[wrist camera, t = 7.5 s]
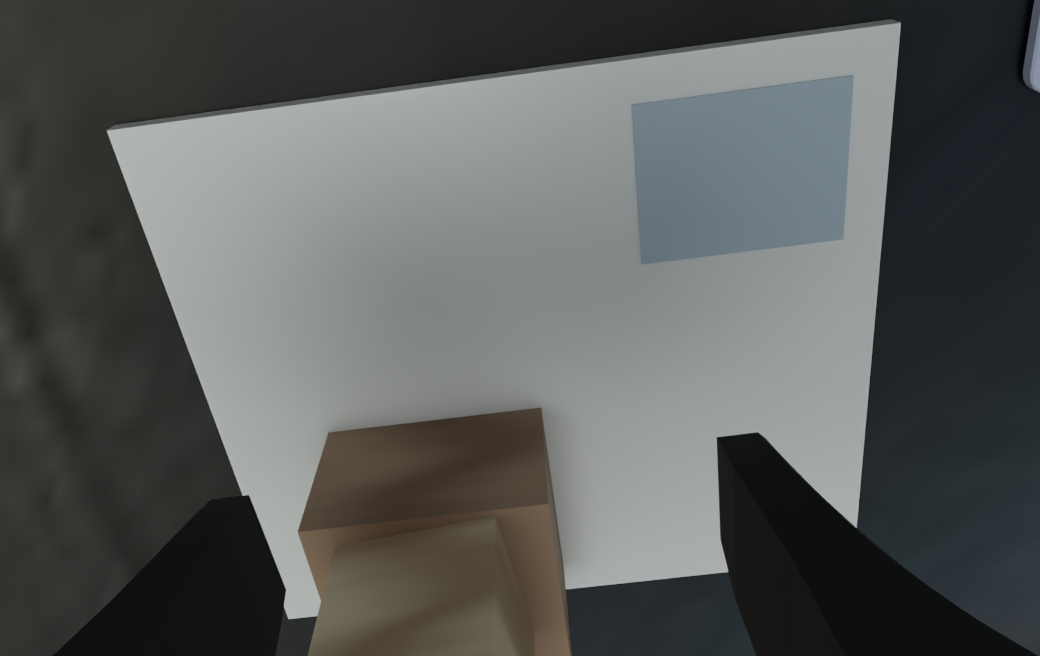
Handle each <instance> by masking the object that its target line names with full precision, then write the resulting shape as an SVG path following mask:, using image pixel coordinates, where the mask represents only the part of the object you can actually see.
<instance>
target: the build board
mask: <svg viewBox="0 0 1040 656" xmlns="http://www.w3.org/2000/svg"><path fill="white" fill-rule="evenodd" d="M900 28H901V23H900V22H898V21H895V20H893V19H889V20H882V21H875V22H867V23H860V24H852V25H845V26H838V27H830V28H823V29H816V30H808V31H801V32H794V33H786V34H779V35H772V36H764V37H757V38H750V39H742V40H735V41H728V42H720V43H713V44H705V45H698V46H691V47H683V48H676V49H669V50H661V51H654V52H647V53H639V54H632V55H625V56H617V57H610V58H603V59H595V60H588V61H581V62H573V63H566V64H559V65H551V66H544V67H536V68H529V69H522V70H514V71H507V72H500V73H492V74H485V75H478V76H470V77H463V78H456V79H448V80H441V81H434V82H426V83H419V84H412V85H404V86H397V87H389V88H382V89H375V90H367V91H360V92H353V93H345V94H338V95H331V96H323V97H316V98H309V99H301V100H294V101H287V102H279V103H272V104H265V105H257V106H250V107H242V108H235V109H228V110H220V111H213V112H206V113H198V114H191V115H184V116H176V117H169V118H162V119H154V120H147V121H140V122H132V123H125V124H118V125H114V126H113V127H111V128H110V129H108V130H107V133H108V135H109V138H110V141H111V143H112V146H113V149H114V152H115V154H116V157H117V160H118V162H119V165H120V168H121V170H122V173H123V176H124V178H125V181H126V184H127V186H128V189H129V192H130V194H131V197H132V200H133V203H134V205H135V208H136V211H137V213H138V216H139V219H140V221H141V224H142V227H143V229H144V232H145V235H146V237H147V240H148V243H149V246H150V248H151V251H152V254H153V256H154V259H155V262H156V264H157V267H158V270H159V272H160V275H161V278H162V280H163V283H164V286H165V288H166V291H167V294H168V297H169V299H170V302H171V305H172V307H173V310H174V313H175V315H176V318H177V321H178V323H179V326H180V329H181V331H182V334H183V337H184V339H185V342H186V345H187V348H188V350H189V353H190V356H191V358H192V361H193V364H194V366H195V369H196V372H197V374H198V377H199V380H200V382H201V385H202V388H203V390H204V393H205V396H206V399H207V401H208V404H209V407H210V409H211V412H212V415H213V417H214V420H215V423H216V425H217V428H218V431H219V433H220V436H221V439H222V441H223V444H224V447H225V450H226V452H227V455H228V458H229V460H230V463H231V466H232V468H233V471H234V474H235V476H236V479H237V482H238V484H239V487H240V490H241V492H242V495H243V496H245V495H249V496H250V499H251V501H252V504H253V506H254V509H255V512H256V514H257V517H258V519H259V522H260V524H261V527H262V529H263V532H264V535H265V537H266V540H267V542H268V545H269V547H270V550H271V553H272V555H273V558H274V560H275V563H276V565H277V568H278V570H279V573H280V576H281V578H282V581H283V583H284V586H285V588H286V594H285V601H284V608H285V611H286V613H287V616H288V619H295V618H304V617H313V616H318V612H319V608H320V604H321V599H320V596H319V594H318V591H317V588H316V585H315V582H314V579H313V576H312V573H311V570H310V567H309V564H308V561H307V558H306V555H305V552H304V549H303V547H302V544H301V541H300V538H299V535H298V529H299V526H300V523H301V519H302V516H303V513H304V510H305V506H306V503H307V500H308V497H309V493H310V490H311V487H312V484H313V481H314V477H315V474H316V471H317V468H318V464H319V461H320V458H321V455H322V451H323V448H324V445H325V442H326V438H327V435H328V432H337V431H345V430H354V429H362V428H371V427H379V426H388V425H397V424H405V423H414V422H422V421H431V420H439V419H448V418H456V417H465V416H473V415H482V414H490V413H499V412H508V411H516V410H525V409H533V408H542V415H543V422H544V430H545V437H546V444H547V451H548V458H549V465H550V473H551V480H552V487H553V494H554V501H555V508H556V515H557V523H558V530H559V537H560V544H561V551H562V558H563V565H564V576H565V588H566V589H574V588H583V587H593V586H602V585H611V584H621V583H630V582H639V581H648V580H658V579H667V578H676V577H686V576H695V575H704V574H714V573H723V572H728V568H727V564H726V560H725V556H724V552H723V548H722V543H721V539H720V512H719V486H718V459H717V437H723V436H731V435H740V434H748V433H756V432H758V433H759V434H761V435H762V436H763V437H765V438H766V439H767V440H768V442H769V443H770V444H771V445H772V446H773V447H774V448H775V449H776V450H777V451H778V452H779V453H780V454H781V456H782V457H783V458H784V459H785V460H786V461H787V462H788V463H789V464H790V465H791V466H792V467H793V468H794V469H795V470H796V471H797V472H798V473H799V474H800V475H801V476H802V477H803V478H804V479H805V480H806V481H807V482H808V483H809V484H810V485H811V486H812V487H813V488H814V489H815V490H816V491H817V492H818V493H819V494H820V495H821V496H822V497H823V498H824V499H825V500H826V501H827V502H828V503H830V504H831V505H832V506H833V507H834V508H835V509H836V510H837V511H838V512H839V513H840V514H842V515H843V516H844V517H845V518H846V519H847V520H848V521H849V522H850V523H851V524H853V525H854V526H855V527H856V528H857V518H858V507H859V496H860V484H861V473H862V461H863V450H864V439H865V427H866V416H867V404H868V393H869V382H870V370H871V359H872V347H873V336H874V325H875V313H876V302H877V290H878V279H879V268H880V256H881V245H882V233H883V222H884V211H885V199H886V188H887V176H888V165H889V154H890V142H891V131H892V119H893V108H894V97H895V85H896V74H897V62H898V51H899V40H900Z"/></svg>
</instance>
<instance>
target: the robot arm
mask: <svg viewBox="0 0 1040 656" xmlns="http://www.w3.org/2000/svg"><path fill="white" fill-rule="evenodd" d="M1023 80H1024V82H1025V84H1026V85H1027V86H1028V87H1029V88H1031V89H1033V90H1035V91H1037V92H1040V0H1034V5H1033V11H1032V17H1031V23H1030V30H1029V36H1028V42H1027V49H1026V55H1025V61H1024V67H1023ZM717 459H718V486H719V512H720V539H721V543H722V548H723V552H724V556H725V560H726V564H727V568H728V572H729V576H730V580H731V583H732V587H733V591H734V595H735V599H736V602H737V605H738V608H739V610H740V613H741V616H742V618H743V621H744V624H745V626H746V629H747V632H748V634H749V637H750V639H751V642H752V645H753V647H754V650H755V653H756V655H757V656H1037V655H1036V654H1034V653H1032V652H1030V651H1029V650H1027V649H1025V648H1024V647H1022V646H1020V645H1019V644H1017V643H1015V642H1014V641H1012V640H1010V639H1009V638H1007V637H1005V636H1003V635H1002V634H1000V633H998V632H997V631H995V630H993V629H992V628H990V627H988V626H987V625H985V624H984V623H982V622H980V621H979V620H977V619H976V618H974V617H973V616H971V615H970V614H968V613H966V612H965V611H963V610H962V609H960V608H959V607H957V606H956V605H955V604H953V603H952V602H950V601H949V600H947V599H946V598H945V597H943V596H942V595H940V594H939V593H938V592H936V591H935V590H933V589H932V588H930V587H929V586H928V585H926V584H925V583H924V582H922V581H921V580H920V579H918V578H917V577H916V576H914V575H913V574H912V573H911V572H909V571H908V570H907V569H905V568H904V567H903V566H901V565H900V564H899V563H898V562H896V561H895V560H894V559H893V558H892V557H890V556H889V555H888V554H887V553H885V552H884V551H883V550H882V549H881V548H879V547H878V546H877V545H876V544H874V543H873V542H872V541H871V540H870V539H869V538H867V537H866V536H865V535H864V534H863V533H862V532H860V531H859V530H858V529H857V528H856V527H855V526H854V525H853V524H851V523H850V522H849V521H848V520H847V519H846V518H845V517H844V516H843V515H842V514H840V513H839V512H838V511H837V510H836V509H835V508H834V507H833V506H832V505H831V504H830V503H828V502H827V501H826V500H825V499H824V498H823V497H822V496H821V495H820V494H819V493H818V492H817V491H816V490H815V489H814V488H813V487H812V486H811V485H810V484H809V483H808V482H807V481H806V480H805V479H804V478H803V477H802V476H801V475H800V474H799V473H798V472H797V471H796V470H795V469H794V468H793V467H792V466H791V465H790V464H789V463H788V462H787V461H786V460H785V459H784V458H783V457H782V456H781V454H780V453H779V452H778V451H777V450H776V449H775V448H774V447H773V446H772V445H771V444H770V443H769V442H768V440H767V439H766V438H765V437H763V436H762V435H761V434H759V433H758V432H756V433H748V434H740V435H731V436H723V437H717ZM285 594H286V588H285V586H284V583H283V581H282V578H281V576H280V573H279V570H278V568H277V565H276V563H275V560H274V558H273V555H272V553H271V550H270V547H269V545H268V542H267V540H266V537H265V535H264V532H263V529H262V527H261V524H260V522H259V519H258V517H257V514H256V512H255V509H254V506H253V504H252V501H251V499H250V496H249V495H245V496H237V497H229V498H221V499H213V500H210V501H209V502H208V503H207V504H206V505H205V506H204V507H203V508H202V509H201V510H200V511H199V512H198V513H197V514H196V515H195V516H194V517H193V518H192V519H191V520H190V521H189V522H188V523H187V524H186V525H185V526H184V527H183V528H182V529H181V530H180V531H179V532H178V533H177V534H176V535H175V536H174V537H173V538H172V539H171V540H170V541H169V542H168V543H167V544H166V545H165V546H164V547H163V548H162V549H161V551H160V552H159V553H158V554H157V555H156V556H155V557H154V558H153V559H152V560H151V561H150V562H149V563H148V564H147V565H146V566H145V567H144V568H143V569H142V570H141V571H140V572H139V573H138V574H137V575H136V576H135V577H134V578H133V579H132V580H131V581H130V582H129V583H128V584H127V585H126V586H125V587H124V588H123V589H122V590H121V591H120V592H119V593H118V594H117V595H116V596H115V597H114V598H113V599H112V600H111V601H110V602H109V603H108V604H107V605H106V606H105V607H104V608H103V609H102V610H101V611H100V612H99V613H98V614H97V615H96V616H95V617H93V618H92V619H91V620H90V621H89V622H88V623H87V624H86V625H85V626H84V627H83V628H82V629H81V630H80V631H79V632H78V633H77V634H75V635H74V636H73V637H72V638H71V639H70V640H69V641H68V642H67V643H66V644H65V645H64V646H63V647H62V648H61V649H60V650H59V651H57V652H56V653H55V654H54V655H53V656H275V654H276V649H277V643H278V638H279V632H280V627H281V621H282V614H283V607H284V601H285Z"/></svg>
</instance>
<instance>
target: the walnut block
mask: <svg viewBox="0 0 1040 656" xmlns="http://www.w3.org/2000/svg"><path fill="white" fill-rule="evenodd" d="M491 516H496V518H497V521H498V524H499V527H500V530H501V533H502V536H503V539H504V542H505V545H506V548H507V551H508V554H509V557H510V560H511V563H512V566H513V569H514V572H515V575H516V578H517V581H518V584H519V587H520V590H521V593H522V596H523V599H524V602H525V605H526V608H527V611H528V614H529V617H530V620H531V623H532V626H533V629H534V644H535V656H571V644H570V633H569V622H568V610H567V599H566V588H565V576H564V565H563V558H562V551H561V544H560V537H559V530H558V523H557V515H556V508H555V501H554V494H553V487H552V480H551V473H550V465H549V458H548V451H547V444H546V437H545V430H544V422H543V415H542V408H533V409H525V410H516V411H508V412H499V413H490V414H482V415H473V416H465V417H456V418H448V419H439V420H431V421H422V422H414V423H405V424H397V425H388V426H379V427H371V428H362V429H354V430H345V431H337V432H328V435H327V438H326V442H325V445H324V448H323V451H322V455H321V458H320V461H319V464H318V468H317V471H316V474H315V477H314V481H313V484H312V487H311V490H310V493H309V497H308V500H307V503H306V506H305V510H304V513H303V516H302V519H301V523H300V526H299V529H298V535H299V538H300V541H301V544H302V547H303V549H304V552H305V555H306V558H307V561H308V564H309V567H310V570H311V573H312V576H313V579H314V582H315V585H316V588H317V591H318V594H319V596H320V599H321V600H322V596H323V592H324V588H325V584H326V580H327V576H328V572H329V568H330V564H331V560H332V556H333V552H334V548H335V547H339V546H344V545H349V544H355V543H360V542H365V541H370V540H375V539H380V538H385V537H390V536H395V535H400V534H405V533H410V532H415V531H420V530H425V529H430V528H435V527H440V526H445V525H451V524H456V523H461V522H466V521H471V520H476V519H481V518H486V517H491Z"/></svg>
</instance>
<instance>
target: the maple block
mask: <svg viewBox="0 0 1040 656" xmlns="http://www.w3.org/2000/svg"><path fill="white" fill-rule="evenodd" d="M308 656H535V644H534V629H533V626H532V623H531V620H530V617H529V614H528V611H527V608H526V605H525V602H524V599H523V596H522V593H521V590H520V587H519V584H518V581H517V578H516V575H515V572H514V569H513V566H512V563H511V560H510V557H509V554H508V551H507V548H506V545H505V542H504V539H503V536H502V533H501V530H500V527H499V524H498V521H497V518H496V516H491V517H486V518H481V519H476V520H471V521H466V522H461V523H456V524H451V525H445V526H440V527H435V528H430V529H425V530H420V531H415V532H410V533H405V534H400V535H395V536H390V537H385V538H380V539H375V540H370V541H365V542H360V543H355V544H349V545H344V546H339V547H335V548H334V552H333V556H332V560H331V564H330V568H329V572H328V576H327V580H326V584H325V588H324V592H323V596H322V600H321V604H320V608H319V612H318V616H317V620H316V624H315V628H314V632H313V637H312V641H311V645H310V649H309V653H308Z"/></svg>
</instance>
